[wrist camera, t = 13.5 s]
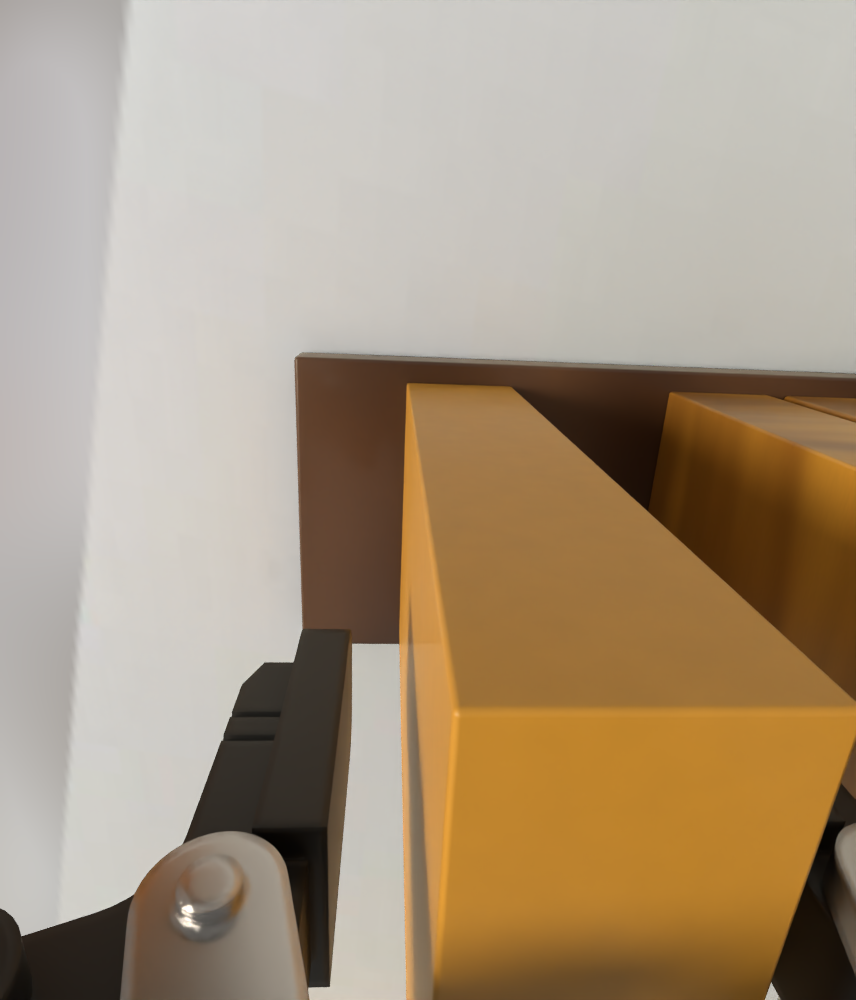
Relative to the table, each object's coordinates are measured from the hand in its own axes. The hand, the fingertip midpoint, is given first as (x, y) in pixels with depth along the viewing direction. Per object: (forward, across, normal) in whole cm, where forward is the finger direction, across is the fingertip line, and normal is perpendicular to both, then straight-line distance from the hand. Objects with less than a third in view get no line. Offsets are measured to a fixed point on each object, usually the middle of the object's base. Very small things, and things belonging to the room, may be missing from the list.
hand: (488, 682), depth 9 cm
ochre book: (+7, 0, 0) cm, 7 cm away
